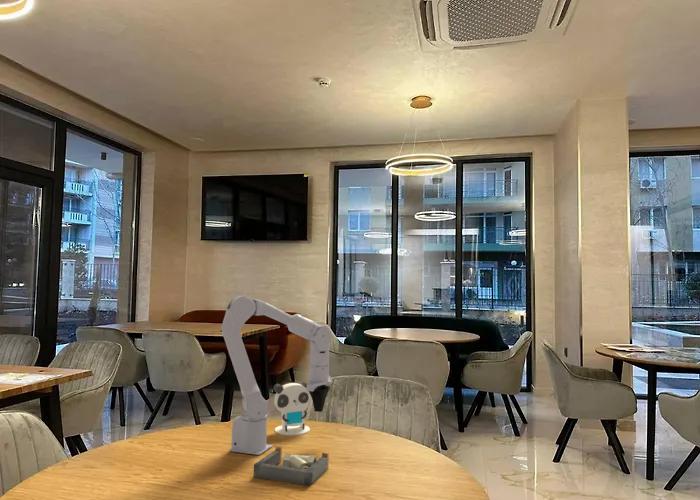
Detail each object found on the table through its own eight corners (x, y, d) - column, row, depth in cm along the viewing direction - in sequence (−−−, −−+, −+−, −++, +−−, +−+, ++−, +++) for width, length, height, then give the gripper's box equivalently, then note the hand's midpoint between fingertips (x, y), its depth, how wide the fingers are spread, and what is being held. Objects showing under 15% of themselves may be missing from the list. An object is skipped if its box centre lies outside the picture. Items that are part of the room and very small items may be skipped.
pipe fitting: (309, 480, 119) (316, 468, 126) (309, 464, 119) (316, 452, 126) (278, 477, 120) (286, 465, 127) (278, 461, 120) (286, 450, 127)
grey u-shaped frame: (253, 477, 119) (254, 461, 119) (276, 460, 130) (276, 445, 130) (309, 485, 114) (310, 469, 114) (328, 467, 125) (328, 452, 126)
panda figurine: (278, 437, 150) (279, 388, 151) (268, 427, 160) (270, 381, 161) (314, 433, 155) (315, 385, 156) (303, 423, 165) (304, 379, 166)
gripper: (323, 369, 139) (322, 418, 138) (340, 362, 152) (339, 406, 151) (300, 368, 141) (299, 416, 140) (319, 361, 154) (318, 404, 153)
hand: (318, 411), depth 146 cm, fingers closed
